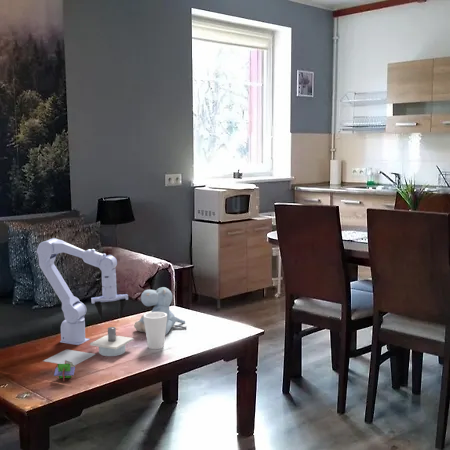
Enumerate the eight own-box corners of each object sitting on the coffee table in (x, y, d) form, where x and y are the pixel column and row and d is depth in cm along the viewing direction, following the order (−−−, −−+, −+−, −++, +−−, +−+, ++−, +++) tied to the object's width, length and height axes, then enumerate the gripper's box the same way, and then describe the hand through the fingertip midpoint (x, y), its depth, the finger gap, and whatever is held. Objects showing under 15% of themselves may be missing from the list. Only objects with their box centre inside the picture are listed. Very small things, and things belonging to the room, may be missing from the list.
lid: (90, 345, 233) (89, 330, 232) (108, 336, 244) (107, 322, 243) (116, 349, 228) (115, 334, 227) (133, 340, 239) (133, 325, 238)
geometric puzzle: (72, 379, 203) (74, 356, 207) (51, 380, 203) (53, 357, 207) (75, 385, 210) (77, 362, 214) (55, 386, 209) (57, 363, 213)
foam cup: (163, 351, 238) (162, 318, 236) (141, 349, 240) (140, 317, 238) (170, 343, 247) (169, 312, 245) (148, 341, 249) (148, 311, 247)
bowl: (94, 354, 234) (93, 344, 233) (109, 346, 243) (108, 337, 242) (115, 358, 230) (115, 348, 229) (130, 350, 239) (130, 340, 238)
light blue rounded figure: (134, 325, 272) (133, 285, 270) (185, 322, 276) (184, 283, 273) (134, 337, 255) (133, 295, 252) (188, 335, 258) (188, 293, 256)
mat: (42, 361, 226) (42, 360, 226) (66, 350, 239) (66, 349, 239) (73, 367, 221) (73, 366, 221) (96, 355, 233) (96, 354, 233)
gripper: (92, 289, 238) (94, 323, 240) (129, 286, 243) (130, 318, 245) (89, 286, 244) (91, 318, 246) (125, 282, 249) (126, 314, 251)
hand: (110, 318), depth 246 cm, fingers open, 7 cm apart
